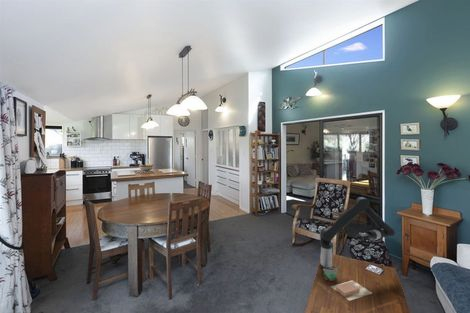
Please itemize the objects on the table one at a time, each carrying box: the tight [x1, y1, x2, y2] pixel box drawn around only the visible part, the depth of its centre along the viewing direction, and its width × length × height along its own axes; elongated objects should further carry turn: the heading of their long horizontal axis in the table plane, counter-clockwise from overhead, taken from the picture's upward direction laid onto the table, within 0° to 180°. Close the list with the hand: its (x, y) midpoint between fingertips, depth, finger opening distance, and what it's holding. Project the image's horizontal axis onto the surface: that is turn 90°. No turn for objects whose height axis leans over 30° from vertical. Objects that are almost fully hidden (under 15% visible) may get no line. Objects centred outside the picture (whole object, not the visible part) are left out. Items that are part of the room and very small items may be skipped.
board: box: [330, 279, 373, 302], centre depth 180 cm, size 18×22×1 cm
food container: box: [322, 265, 339, 282], centre depth 193 cm, size 12×6×10 cm, turn 101°
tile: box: [335, 282, 360, 297], centre depth 179 cm, size 9×3×14 cm
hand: (357, 237), depth 195 cm, fingers closed
